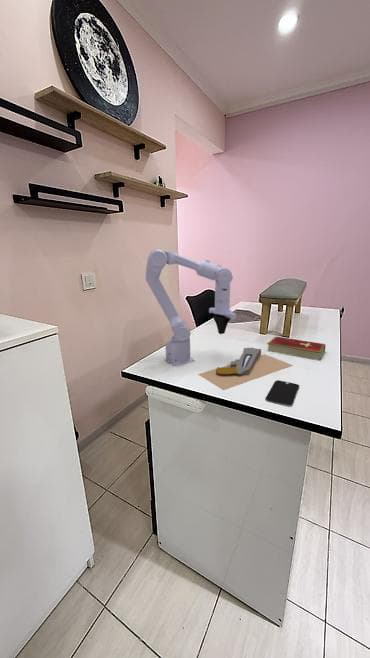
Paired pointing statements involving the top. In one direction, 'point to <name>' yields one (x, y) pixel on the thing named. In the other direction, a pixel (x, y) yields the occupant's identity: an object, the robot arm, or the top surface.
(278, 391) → the smartphone
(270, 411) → the top surface
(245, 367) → the gun
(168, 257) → the robot arm
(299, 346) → the hardcover book
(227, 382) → the mat
